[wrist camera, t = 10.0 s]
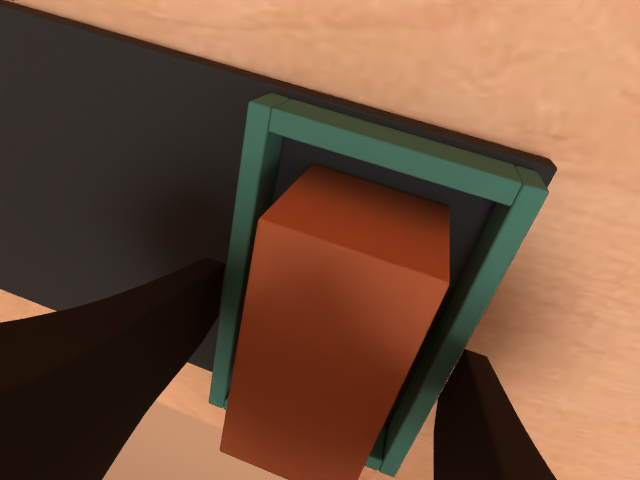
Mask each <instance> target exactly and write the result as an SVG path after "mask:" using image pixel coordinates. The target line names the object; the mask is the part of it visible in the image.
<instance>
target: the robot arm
mask: <svg viewBox="0 0 640 480" xmlns="http://www.w3.org/2000/svg"><path fill="white" fill-rule="evenodd" d="M224 272H225V263H222V262H219V261H216V260H213V259H210V258H208V257H206V258H204V259H201V260H199V261H197V262H194V263H192V264H190V265H188V266H185V267H183V268H181V269H179V270H176V271H174V272H172V273H169V274H167V275H165V276H162V277H160V278H158V279H155V280H153V281H151V282H148V283H146V284H143V285H140V286H138V287H135V288H132V289H130V290H127V291H124V292H122V293H119V294H116V295H113V296H110V297H107V298H104V299H101V300H98V301H95V302H91V303H88V304H84V305H81V306H77V307H74V308H70V309H66V310H61V311H57V312H52V313H48V314H43V315H39V316H34V317H30V318H25V319H19V320H13V321H7V322H2V323H0V480H102V479H103V477H104V476H105V474H106V472H107V471H108V469H109V468H110V466H111V465H112V463H113V462H114V460H115V458H116V457H117V455H118V454H119V452H120V451H121V449H122V447H123V446H124V444H125V443H126V441H127V440H128V438H129V437H130V435H131V434H132V432H133V431H134V429H135V428H136V426H137V425H138V424H139V422H140V421H141V419H142V417H143V416H144V415H145V413H146V412H147V411H148V409H149V408H150V407H151V405H152V404H153V403H154V401H155V400H156V399H157V398H158V396H159V395H160V394H161V393H162V392H163V390H164V389H165V388H166V387H167V385H168V384H169V383H170V382H171V381H172V379H173V378H174V377H175V376H176V375H177V373H178V372H179V371H180V370H181V368H182V367H183V366H184V365H185V364H186V362H187V361H188V360H189V359H190V357H191V356H192V355H193V354H194V353H195V351H196V350H197V349H198V348H199V346H200V345H201V344H202V342H203V341H204V339H205V338H206V336H207V334H208V333H209V331H210V330H211V328H212V326H213V325H214V323H215V321H216V320H217V318H218V316H219V310H220V303H221V295H222V287H223V280H224ZM434 480H557V479H556V478H555V476H554V475H553V473H552V472H551V470H550V469H549V467H548V466H547V464H546V463H545V461H544V459H543V458H542V456H541V455H540V453H539V451H538V450H537V448H536V447H535V445H534V443H533V442H532V440H531V438H530V437H529V435H528V433H527V432H526V430H525V428H524V426H523V425H522V423H521V421H520V419H519V417H518V416H517V414H516V412H515V410H514V408H513V406H512V405H511V403H510V401H509V399H508V397H507V395H506V393H505V391H504V389H503V387H502V385H501V383H500V381H499V379H498V377H497V375H496V373H495V371H494V370H493V368H492V366H491V364H490V362H489V360H488V358H487V357H486V356H483V355H480V354H478V353H475V352H472V351H469V350H466V349H465V350H464V351H463V353H462V355H461V357H460V359H459V361H458V362H457V364H456V366H455V368H454V370H453V372H452V373H451V375H450V377H449V379H448V381H447V383H446V384H445V386H444V388H443V390H442V392H441V394H440V395H439V397H438V403H437V410H436V417H435V426H434Z"/></svg>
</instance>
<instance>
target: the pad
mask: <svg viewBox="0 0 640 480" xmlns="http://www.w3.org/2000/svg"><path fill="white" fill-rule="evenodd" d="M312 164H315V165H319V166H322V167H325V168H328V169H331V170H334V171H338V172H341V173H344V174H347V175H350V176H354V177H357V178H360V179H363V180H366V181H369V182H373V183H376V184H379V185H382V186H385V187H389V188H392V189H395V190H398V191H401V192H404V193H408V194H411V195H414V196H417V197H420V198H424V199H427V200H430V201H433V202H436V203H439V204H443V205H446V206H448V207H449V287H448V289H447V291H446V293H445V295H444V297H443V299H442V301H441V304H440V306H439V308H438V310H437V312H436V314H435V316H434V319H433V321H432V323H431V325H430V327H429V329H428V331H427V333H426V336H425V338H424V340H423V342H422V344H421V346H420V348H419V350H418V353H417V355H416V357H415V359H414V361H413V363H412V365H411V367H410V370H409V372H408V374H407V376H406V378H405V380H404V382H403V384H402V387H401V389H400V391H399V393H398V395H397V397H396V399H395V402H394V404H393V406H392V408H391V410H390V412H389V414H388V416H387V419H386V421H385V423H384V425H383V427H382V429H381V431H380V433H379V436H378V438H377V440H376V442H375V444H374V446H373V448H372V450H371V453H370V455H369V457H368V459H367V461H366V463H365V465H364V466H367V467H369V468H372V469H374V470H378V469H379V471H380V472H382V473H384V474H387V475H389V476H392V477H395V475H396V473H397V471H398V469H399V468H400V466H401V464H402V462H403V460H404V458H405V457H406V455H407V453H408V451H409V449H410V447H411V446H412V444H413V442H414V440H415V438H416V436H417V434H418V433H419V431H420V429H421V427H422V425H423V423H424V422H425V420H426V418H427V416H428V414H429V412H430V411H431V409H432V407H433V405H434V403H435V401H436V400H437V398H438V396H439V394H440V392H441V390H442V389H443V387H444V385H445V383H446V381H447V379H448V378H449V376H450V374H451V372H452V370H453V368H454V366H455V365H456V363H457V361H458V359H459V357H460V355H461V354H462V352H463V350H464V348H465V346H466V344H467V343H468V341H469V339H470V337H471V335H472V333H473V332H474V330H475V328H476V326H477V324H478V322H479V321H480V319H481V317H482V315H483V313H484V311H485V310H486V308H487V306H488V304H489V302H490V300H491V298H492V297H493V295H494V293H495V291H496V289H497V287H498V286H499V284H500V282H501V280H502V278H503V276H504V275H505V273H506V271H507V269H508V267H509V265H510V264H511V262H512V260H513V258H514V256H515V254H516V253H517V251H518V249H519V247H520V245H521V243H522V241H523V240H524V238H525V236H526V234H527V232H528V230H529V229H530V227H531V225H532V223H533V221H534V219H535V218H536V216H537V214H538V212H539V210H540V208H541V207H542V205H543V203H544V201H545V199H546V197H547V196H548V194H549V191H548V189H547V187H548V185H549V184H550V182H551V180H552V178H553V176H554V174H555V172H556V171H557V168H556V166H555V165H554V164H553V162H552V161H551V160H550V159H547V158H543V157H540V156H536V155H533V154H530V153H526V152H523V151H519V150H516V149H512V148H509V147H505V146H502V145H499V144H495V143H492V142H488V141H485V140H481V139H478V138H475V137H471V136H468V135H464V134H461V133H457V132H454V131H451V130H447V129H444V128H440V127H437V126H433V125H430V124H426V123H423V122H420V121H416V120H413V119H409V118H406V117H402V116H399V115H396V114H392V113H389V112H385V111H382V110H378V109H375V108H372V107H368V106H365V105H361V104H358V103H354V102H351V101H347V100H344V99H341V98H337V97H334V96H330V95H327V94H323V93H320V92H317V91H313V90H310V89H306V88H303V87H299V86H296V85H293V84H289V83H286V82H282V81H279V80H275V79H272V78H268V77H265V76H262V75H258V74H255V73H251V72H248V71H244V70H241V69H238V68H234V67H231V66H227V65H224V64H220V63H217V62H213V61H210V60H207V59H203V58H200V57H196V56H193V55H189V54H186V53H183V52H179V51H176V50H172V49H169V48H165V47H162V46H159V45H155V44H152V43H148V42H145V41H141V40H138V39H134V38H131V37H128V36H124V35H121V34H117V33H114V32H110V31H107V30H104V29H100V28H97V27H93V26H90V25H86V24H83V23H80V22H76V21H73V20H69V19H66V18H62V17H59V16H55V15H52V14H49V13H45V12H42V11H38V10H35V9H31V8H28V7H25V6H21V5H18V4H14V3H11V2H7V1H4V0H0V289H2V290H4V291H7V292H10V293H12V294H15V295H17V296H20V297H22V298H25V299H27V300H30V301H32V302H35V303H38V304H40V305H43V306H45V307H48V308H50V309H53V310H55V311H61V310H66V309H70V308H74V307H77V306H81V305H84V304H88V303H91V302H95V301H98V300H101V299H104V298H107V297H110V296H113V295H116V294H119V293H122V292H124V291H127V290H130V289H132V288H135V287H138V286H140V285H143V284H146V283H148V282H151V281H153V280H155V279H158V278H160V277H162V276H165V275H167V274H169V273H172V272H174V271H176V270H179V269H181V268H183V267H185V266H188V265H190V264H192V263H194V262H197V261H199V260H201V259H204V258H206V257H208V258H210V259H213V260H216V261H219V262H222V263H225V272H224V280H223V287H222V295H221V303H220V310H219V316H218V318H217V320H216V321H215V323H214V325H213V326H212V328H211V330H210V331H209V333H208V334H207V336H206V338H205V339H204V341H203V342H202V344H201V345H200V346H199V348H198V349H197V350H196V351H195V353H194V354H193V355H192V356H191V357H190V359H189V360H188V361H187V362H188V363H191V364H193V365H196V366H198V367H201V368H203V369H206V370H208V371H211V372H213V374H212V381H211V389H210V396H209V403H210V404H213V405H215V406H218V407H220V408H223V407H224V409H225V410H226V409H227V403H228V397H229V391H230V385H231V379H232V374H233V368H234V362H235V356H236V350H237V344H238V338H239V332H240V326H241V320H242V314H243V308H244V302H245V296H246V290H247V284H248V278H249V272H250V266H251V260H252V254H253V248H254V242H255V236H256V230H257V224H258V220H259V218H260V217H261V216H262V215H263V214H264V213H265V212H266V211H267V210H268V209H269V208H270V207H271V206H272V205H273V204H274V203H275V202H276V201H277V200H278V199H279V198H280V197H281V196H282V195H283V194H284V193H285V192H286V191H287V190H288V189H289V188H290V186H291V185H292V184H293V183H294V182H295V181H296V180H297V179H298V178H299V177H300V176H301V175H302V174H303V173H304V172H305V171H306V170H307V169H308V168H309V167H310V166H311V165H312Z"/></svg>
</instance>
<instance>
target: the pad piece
mask: <svg viewBox="0 0 640 480" xmlns="http://www.w3.org/2000/svg"><path fill="white" fill-rule="evenodd" d="M448 287H449V207H448V206H446V205H443V204H439V203H436V202H433V201H430V200H427V199H424V198H420V197H417V196H414V195H411V194H408V193H404V192H401V191H398V190H395V189H392V188H389V187H385V186H382V185H379V184H376V183H373V182H369V181H366V180H363V179H360V178H357V177H354V176H350V175H347V174H344V173H341V172H338V171H334V170H331V169H328V168H325V167H322V166H319V165H315V164H312V165H311V166H310V167H309V168H308V169H307V170H306V171H305V172H304V173H303V174H302V175H301V176H300V177H299V178H298V179H297V180H296V181H295V182H294V183H293V184H292V185H291V186H290V188H289V189H288V190H287V191H286V192H285V193H284V194H283V195H282V196H281V197H280V198H279V199H278V200H277V201H276V202H275V203H274V204H273V205H272V206H271V207H270V208H269V209H268V210H267V211H266V212H265V213H264V214H263V215H262V216H261V217H260V218H259V220H258V224H257V230H256V236H255V242H254V248H253V254H252V260H251V266H250V272H249V278H248V284H247V290H246V296H245V302H244V308H243V314H242V320H241V326H240V332H239V338H238V344H237V350H236V356H235V362H234V368H233V374H232V379H231V385H230V391H229V397H228V403H227V409H226V415H225V421H224V427H223V433H222V439H221V445H220V451H221V452H223V453H226V454H228V455H230V456H233V457H235V458H238V459H240V460H242V461H245V462H247V463H249V464H252V465H254V466H257V467H259V468H261V469H264V470H266V471H269V472H271V473H273V474H276V475H278V476H281V477H283V478H285V479H288V480H358V478H359V476H360V474H361V472H362V470H363V467H364V465H365V463H366V461H367V459H368V457H369V455H370V453H371V450H372V448H373V446H374V444H375V442H376V440H377V438H378V436H379V433H380V431H381V429H382V427H383V425H384V423H385V421H386V419H387V416H388V414H389V412H390V410H391V408H392V406H393V404H394V402H395V399H396V397H397V395H398V393H399V391H400V389H401V387H402V384H403V382H404V380H405V378H406V376H407V374H408V372H409V370H410V367H411V365H412V363H413V361H414V359H415V357H416V355H417V353H418V350H419V348H420V346H421V344H422V342H423V340H424V338H425V336H426V333H427V331H428V329H429V327H430V325H431V323H432V321H433V319H434V316H435V314H436V312H437V310H438V308H439V306H440V304H441V301H442V299H443V297H444V295H445V293H446V291H447V289H448Z"/></svg>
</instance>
